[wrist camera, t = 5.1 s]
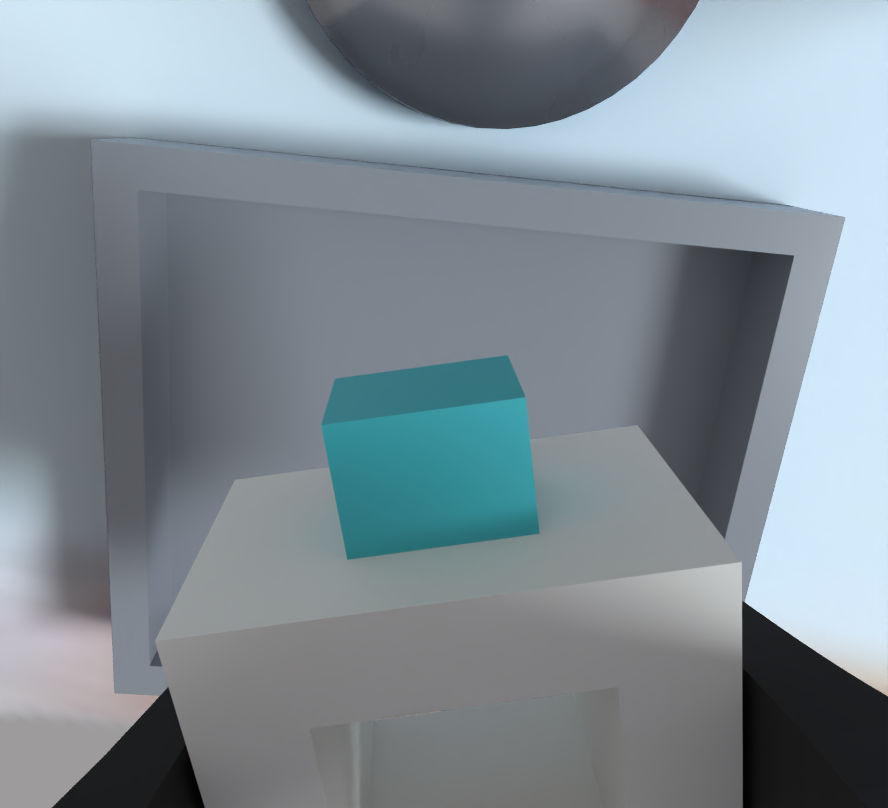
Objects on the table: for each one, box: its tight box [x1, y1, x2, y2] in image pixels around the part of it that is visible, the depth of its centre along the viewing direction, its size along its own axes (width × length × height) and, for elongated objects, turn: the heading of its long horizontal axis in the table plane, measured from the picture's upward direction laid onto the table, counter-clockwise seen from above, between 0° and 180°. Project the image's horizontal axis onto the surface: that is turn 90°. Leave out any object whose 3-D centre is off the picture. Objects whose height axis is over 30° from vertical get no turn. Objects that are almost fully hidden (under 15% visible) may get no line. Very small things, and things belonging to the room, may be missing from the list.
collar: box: [155, 355, 743, 808], centre depth 9 cm, size 5×7×4 cm
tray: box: [91, 138, 845, 711], centre depth 18 cm, size 14×12×2 cm
